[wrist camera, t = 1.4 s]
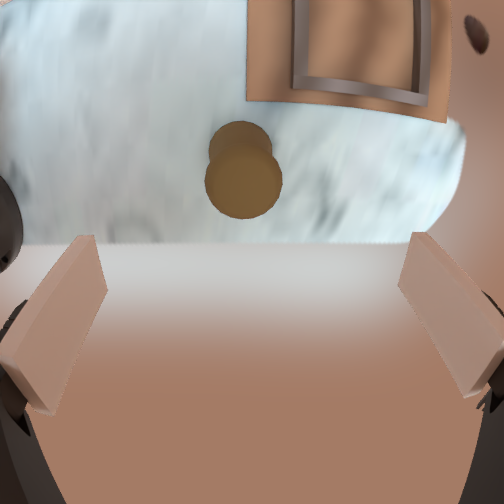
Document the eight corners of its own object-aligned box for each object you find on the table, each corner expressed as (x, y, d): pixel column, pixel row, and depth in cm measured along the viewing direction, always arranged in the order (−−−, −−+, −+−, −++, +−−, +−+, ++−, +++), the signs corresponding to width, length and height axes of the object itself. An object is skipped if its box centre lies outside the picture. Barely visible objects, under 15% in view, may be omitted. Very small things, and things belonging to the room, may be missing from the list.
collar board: (246, 100, 27) (247, 101, 24) (248, -51, 18) (250, -61, 16) (441, 122, 28) (454, 126, 26) (444, -9, 20) (457, -12, 17)
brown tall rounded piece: (244, 193, 31) (250, 249, 22) (195, 157, 29) (177, 197, 20) (285, 148, 29) (312, 183, 20) (236, 108, 27) (237, 121, 17)
